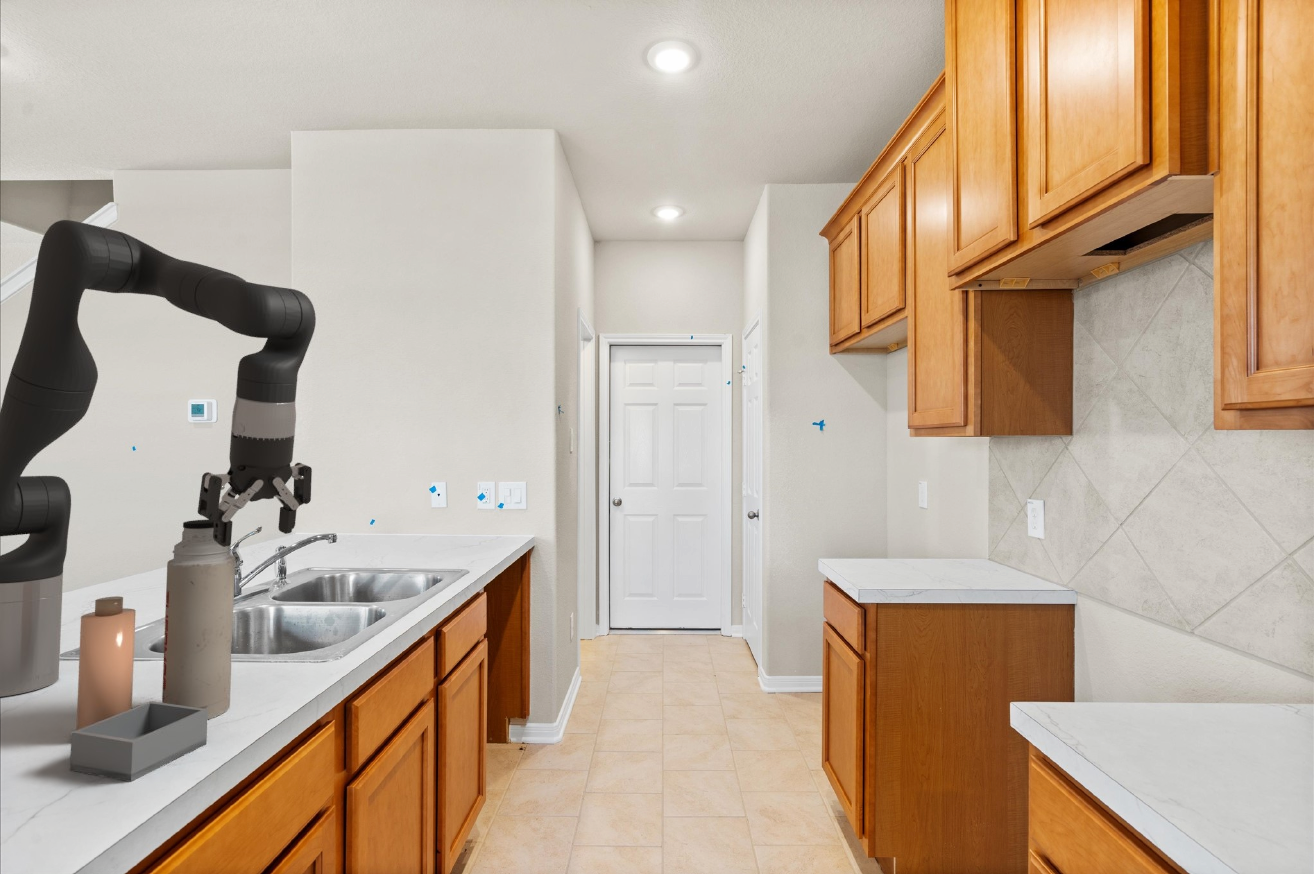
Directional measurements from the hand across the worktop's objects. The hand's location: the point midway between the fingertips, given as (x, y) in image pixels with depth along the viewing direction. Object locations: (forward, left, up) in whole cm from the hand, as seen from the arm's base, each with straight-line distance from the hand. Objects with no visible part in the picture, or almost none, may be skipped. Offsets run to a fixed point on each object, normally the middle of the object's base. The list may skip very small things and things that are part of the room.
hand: (255, 538), depth 88 cm
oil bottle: (-14, -9, -26) cm, 31 cm away
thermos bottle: (-8, -1, -26) cm, 27 cm away
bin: (-3, -13, -26) cm, 29 cm away
